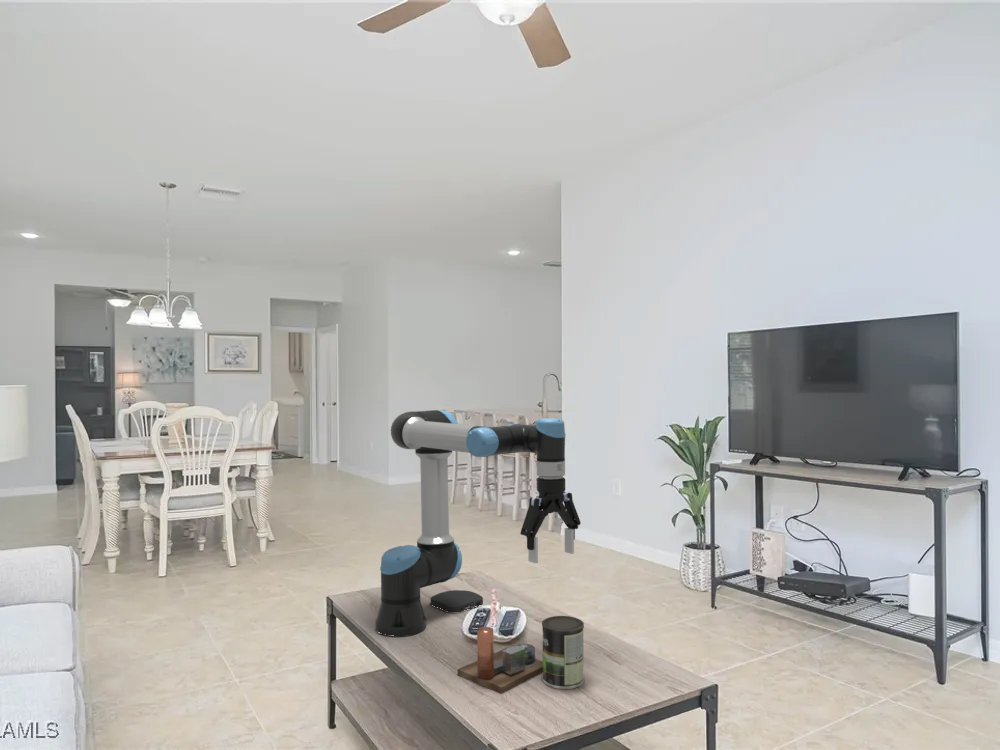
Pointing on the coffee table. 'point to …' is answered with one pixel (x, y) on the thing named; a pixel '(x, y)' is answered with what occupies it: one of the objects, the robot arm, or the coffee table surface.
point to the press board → (501, 675)
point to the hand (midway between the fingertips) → (551, 557)
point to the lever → (511, 657)
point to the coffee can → (563, 652)
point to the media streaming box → (456, 600)
